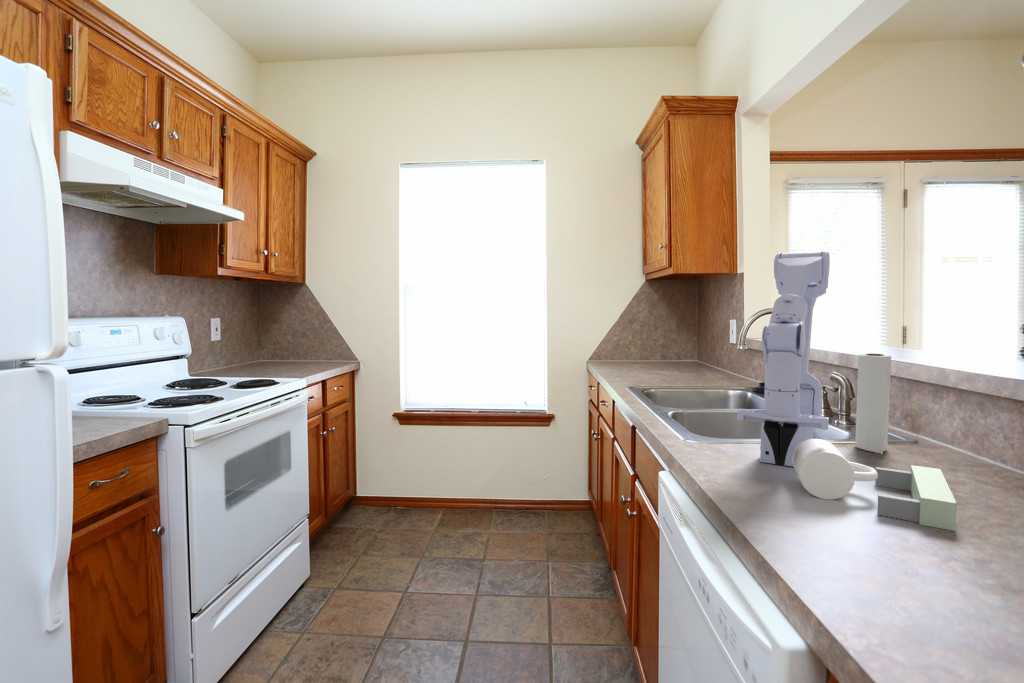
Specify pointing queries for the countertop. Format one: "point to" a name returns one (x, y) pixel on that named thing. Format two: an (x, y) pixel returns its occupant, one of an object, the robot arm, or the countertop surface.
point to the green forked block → (918, 497)
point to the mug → (827, 469)
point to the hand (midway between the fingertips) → (780, 463)
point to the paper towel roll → (873, 402)
